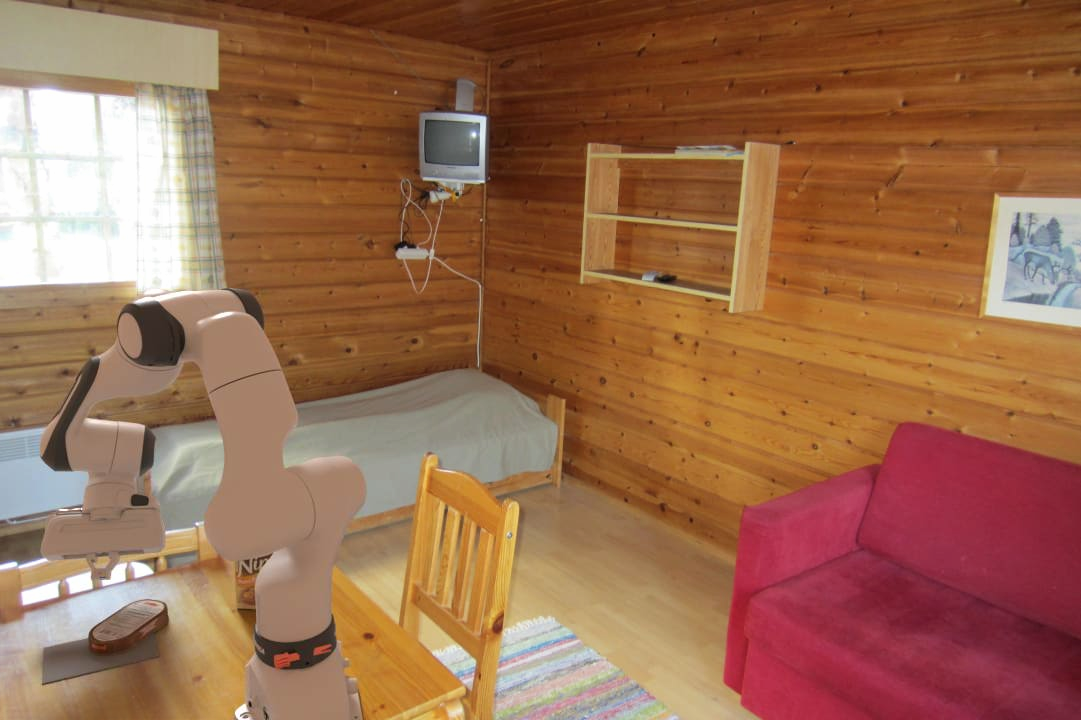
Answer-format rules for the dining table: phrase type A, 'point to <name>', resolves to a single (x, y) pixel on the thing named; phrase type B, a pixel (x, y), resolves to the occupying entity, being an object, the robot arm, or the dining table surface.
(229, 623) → the dining table surface
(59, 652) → the felt mat
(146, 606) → the tin
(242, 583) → the candy box
